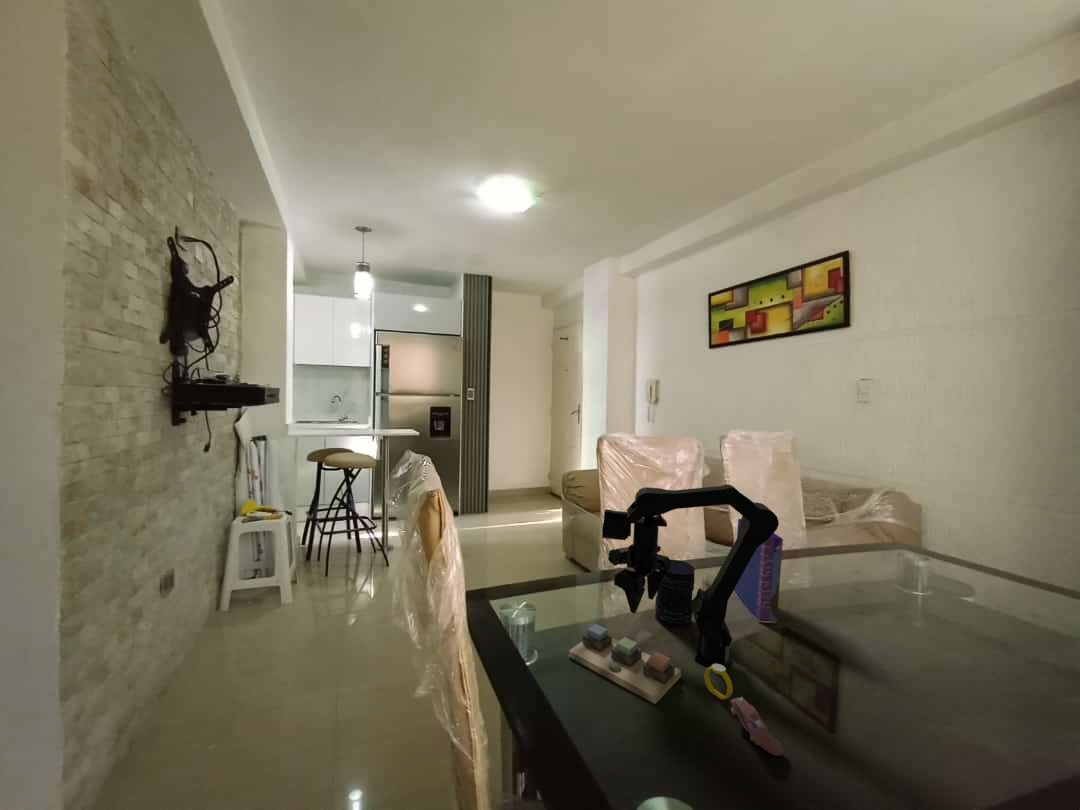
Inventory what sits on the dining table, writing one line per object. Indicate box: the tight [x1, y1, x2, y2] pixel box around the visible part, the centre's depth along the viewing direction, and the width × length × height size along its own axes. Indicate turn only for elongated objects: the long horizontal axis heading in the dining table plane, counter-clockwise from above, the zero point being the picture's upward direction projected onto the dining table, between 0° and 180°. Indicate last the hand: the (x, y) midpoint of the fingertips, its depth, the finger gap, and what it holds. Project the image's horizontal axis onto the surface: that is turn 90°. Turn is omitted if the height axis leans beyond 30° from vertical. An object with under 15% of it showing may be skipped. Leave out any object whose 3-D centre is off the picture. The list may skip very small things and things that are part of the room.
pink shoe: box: [729, 696, 784, 757], centre depth 83 cm, size 10×5×7 cm, turn 5°
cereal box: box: [734, 518, 784, 623], centre depth 133 cm, size 17×5×24 cm, turn 179°
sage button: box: [616, 636, 638, 657], centre depth 103 cm, size 3×3×2 cm
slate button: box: [587, 623, 609, 642], centre depth 109 cm, size 3×3×2 cm
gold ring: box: [703, 664, 733, 700], centre depth 95 cm, size 6×3×6 cm, turn 32°
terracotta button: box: [648, 651, 671, 673], centre depth 98 cm, size 3×3×2 cm
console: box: [568, 631, 682, 705], centre depth 103 cm, size 22×12×4 cm, turn 49°
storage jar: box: [654, 559, 696, 630], centre depth 124 cm, size 10×10×15 cm
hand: (642, 605), depth 109 cm, fingers open, 9 cm apart
